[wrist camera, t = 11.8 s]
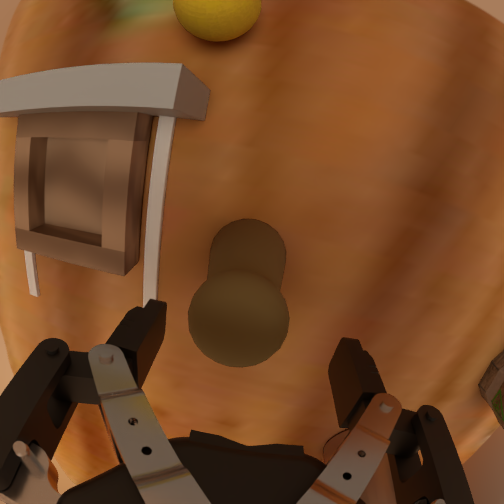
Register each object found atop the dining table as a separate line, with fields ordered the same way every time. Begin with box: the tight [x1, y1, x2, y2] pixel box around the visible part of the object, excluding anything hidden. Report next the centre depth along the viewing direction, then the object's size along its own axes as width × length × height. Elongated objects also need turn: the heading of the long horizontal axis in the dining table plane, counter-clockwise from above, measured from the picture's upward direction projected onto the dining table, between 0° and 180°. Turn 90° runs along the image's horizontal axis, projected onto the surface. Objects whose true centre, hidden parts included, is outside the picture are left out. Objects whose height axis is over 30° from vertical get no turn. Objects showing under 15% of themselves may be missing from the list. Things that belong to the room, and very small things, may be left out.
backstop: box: [0, 63, 210, 308], centre depth 19 cm, size 21×20×8 cm
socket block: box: [14, 111, 153, 276], centre depth 21 cm, size 12×12×3 cm
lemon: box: [173, 0, 261, 42], centre depth 14 cm, size 6×6×8 cm
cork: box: [188, 219, 289, 367], centre depth 19 cm, size 6×6×11 cm
